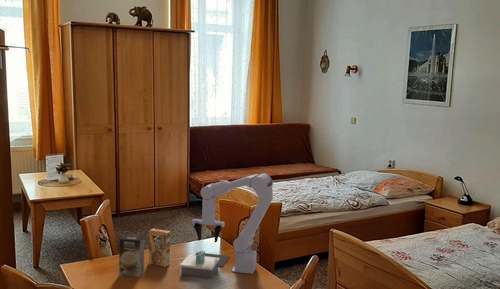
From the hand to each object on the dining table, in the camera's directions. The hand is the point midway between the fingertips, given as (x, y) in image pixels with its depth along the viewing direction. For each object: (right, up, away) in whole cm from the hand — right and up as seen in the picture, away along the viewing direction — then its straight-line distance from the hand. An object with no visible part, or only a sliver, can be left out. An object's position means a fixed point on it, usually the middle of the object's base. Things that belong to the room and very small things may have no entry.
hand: (207, 240), depth 212 cm
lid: (-2, -8, -9) cm, 12 cm away
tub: (-3, -12, -9) cm, 15 cm away
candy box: (-22, -10, -2) cm, 24 cm away
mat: (0, -10, +5) cm, 11 cm away
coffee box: (-31, -11, -13) cm, 36 cm away
